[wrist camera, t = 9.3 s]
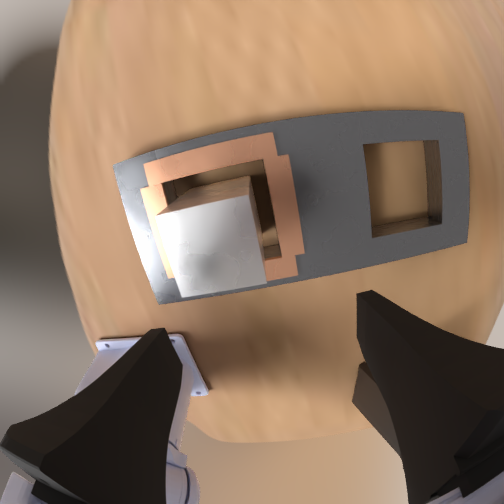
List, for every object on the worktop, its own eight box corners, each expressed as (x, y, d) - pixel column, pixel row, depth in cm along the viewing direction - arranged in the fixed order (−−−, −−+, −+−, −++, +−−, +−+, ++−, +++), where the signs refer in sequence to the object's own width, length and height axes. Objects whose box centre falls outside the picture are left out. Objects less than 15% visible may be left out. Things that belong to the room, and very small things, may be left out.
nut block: (204, 244, 19) (182, 297, 13) (190, 188, 18) (155, 215, 11) (261, 233, 19) (266, 283, 12) (250, 175, 17) (248, 194, 11)
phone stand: (433, 344, 23) (485, 426, 12) (419, 381, 25) (457, 457, 14) (358, 363, 24) (396, 468, 12) (351, 399, 26) (377, 490, 15)
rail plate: (166, 290, 20) (157, 306, 18) (125, 162, 17) (110, 165, 15) (453, 234, 18) (469, 244, 16) (447, 113, 15) (465, 112, 13)
